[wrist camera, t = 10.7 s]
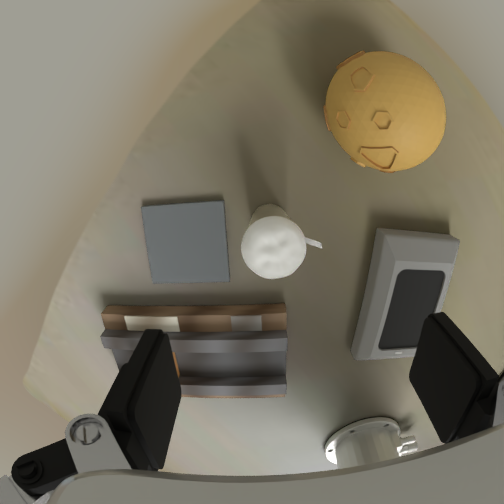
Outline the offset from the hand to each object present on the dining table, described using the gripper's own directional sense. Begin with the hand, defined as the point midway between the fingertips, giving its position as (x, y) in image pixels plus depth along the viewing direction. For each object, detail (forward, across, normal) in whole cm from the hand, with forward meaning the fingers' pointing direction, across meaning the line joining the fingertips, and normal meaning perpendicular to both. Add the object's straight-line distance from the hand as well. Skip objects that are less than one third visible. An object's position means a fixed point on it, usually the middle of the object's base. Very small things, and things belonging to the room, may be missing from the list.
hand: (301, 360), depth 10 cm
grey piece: (+20, +9, +15) cm, 27 cm away
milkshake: (+20, 0, 0) cm, 20 cm away
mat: (+20, +8, +2) cm, 22 cm away
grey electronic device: (+21, -14, +9) cm, 27 cm away
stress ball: (+20, -9, -10) cm, 24 cm away
